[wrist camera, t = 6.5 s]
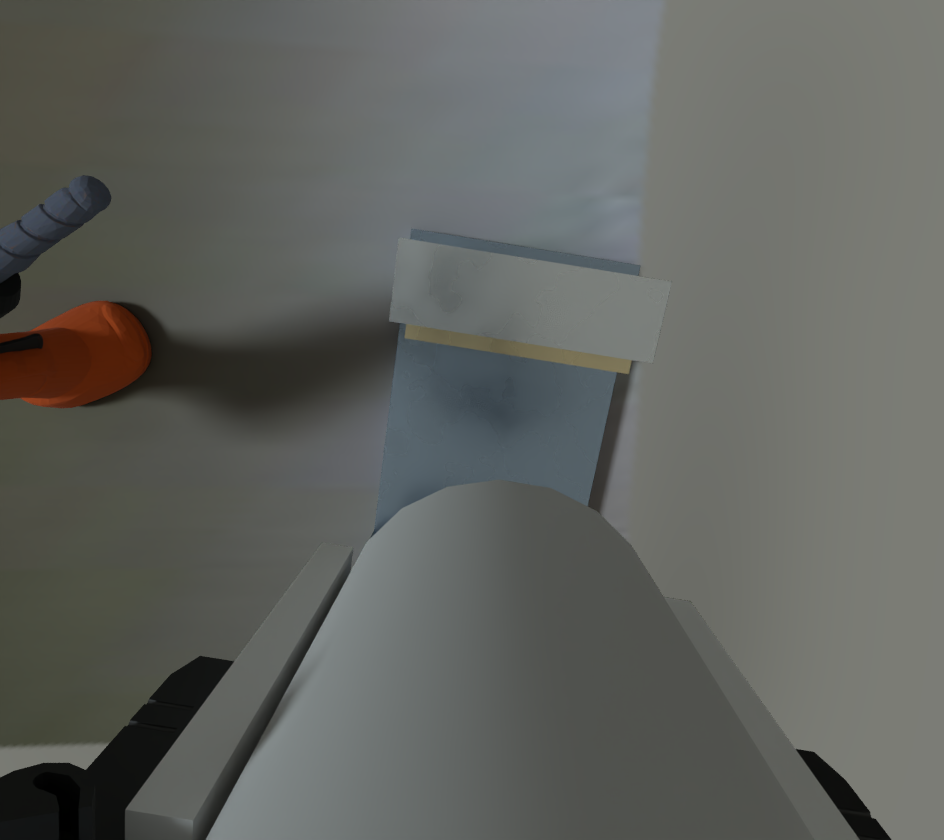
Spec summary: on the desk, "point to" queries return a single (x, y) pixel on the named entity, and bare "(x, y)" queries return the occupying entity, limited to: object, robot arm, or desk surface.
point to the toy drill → (65, 315)
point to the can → (504, 695)
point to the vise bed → (491, 410)
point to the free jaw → (526, 306)
